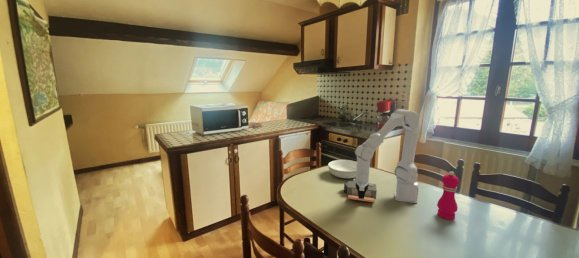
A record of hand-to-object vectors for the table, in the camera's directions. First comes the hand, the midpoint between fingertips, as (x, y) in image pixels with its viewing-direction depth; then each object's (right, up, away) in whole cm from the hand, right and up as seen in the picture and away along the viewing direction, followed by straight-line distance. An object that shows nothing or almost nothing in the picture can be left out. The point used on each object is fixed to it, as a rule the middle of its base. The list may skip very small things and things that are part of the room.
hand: (361, 198), depth 113 cm
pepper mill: (+33, -5, -10) cm, 35 cm away
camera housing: (+3, 0, +11) cm, 11 cm away
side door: (+2, -1, +6) cm, 6 cm away
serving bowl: (+1, +4, +35) cm, 35 cm away
